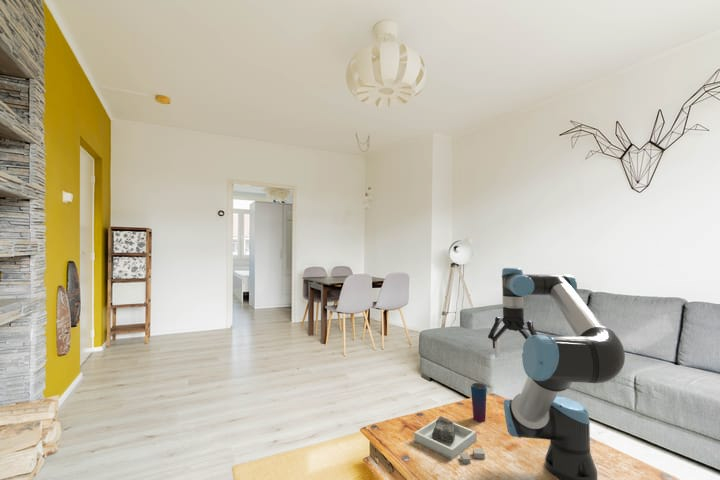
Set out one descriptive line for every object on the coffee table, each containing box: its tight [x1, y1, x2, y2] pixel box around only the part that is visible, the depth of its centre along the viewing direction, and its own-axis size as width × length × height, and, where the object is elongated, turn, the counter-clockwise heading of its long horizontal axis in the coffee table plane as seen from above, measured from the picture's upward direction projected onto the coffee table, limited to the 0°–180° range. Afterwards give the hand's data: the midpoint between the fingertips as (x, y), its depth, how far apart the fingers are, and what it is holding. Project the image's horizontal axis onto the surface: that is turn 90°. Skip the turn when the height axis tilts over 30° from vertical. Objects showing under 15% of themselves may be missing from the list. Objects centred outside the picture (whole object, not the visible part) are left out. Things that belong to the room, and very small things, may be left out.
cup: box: [470, 382, 488, 423], centre depth 153 cm, size 7×7×15 cm
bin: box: [413, 417, 478, 461], centre depth 136 cm, size 17×18×4 cm
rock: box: [432, 415, 455, 441], centre depth 137 cm, size 13×9×6 cm, turn 161°
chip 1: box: [459, 453, 472, 465], centre depth 123 cm, size 3×3×2 cm
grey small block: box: [472, 448, 486, 460], centre depth 125 cm, size 4×3×2 cm
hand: (514, 360), depth 135 cm, fingers open, 13 cm apart
